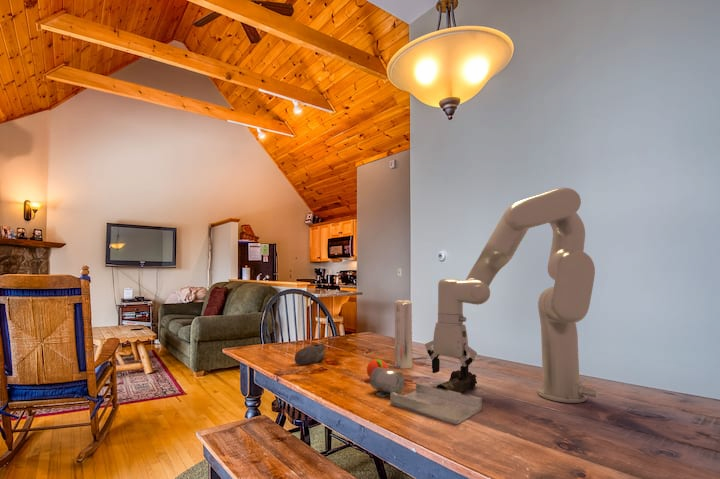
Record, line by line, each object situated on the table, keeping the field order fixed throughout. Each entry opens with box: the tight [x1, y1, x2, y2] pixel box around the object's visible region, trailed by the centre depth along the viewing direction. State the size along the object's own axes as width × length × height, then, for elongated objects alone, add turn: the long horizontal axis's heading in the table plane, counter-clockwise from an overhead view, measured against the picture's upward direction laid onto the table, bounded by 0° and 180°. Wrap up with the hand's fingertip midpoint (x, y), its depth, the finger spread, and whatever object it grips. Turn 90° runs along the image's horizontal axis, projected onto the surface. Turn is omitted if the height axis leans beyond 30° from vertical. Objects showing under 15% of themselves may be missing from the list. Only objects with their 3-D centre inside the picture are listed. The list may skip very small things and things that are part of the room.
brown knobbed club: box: [436, 369, 478, 393], centre depth 115 cm, size 18×7×6 cm, turn 135°
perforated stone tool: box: [294, 343, 326, 366], centre depth 150 cm, size 15×5×7 cm, turn 135°
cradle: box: [389, 382, 483, 425], centre depth 102 cm, size 20×13×3 cm
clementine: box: [366, 358, 388, 378], centre depth 126 cm, size 8×7×7 cm
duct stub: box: [369, 367, 406, 398], centre depth 113 cm, size 8×7×7 cm
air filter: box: [394, 299, 413, 370], centre depth 145 cm, size 6×6×25 cm
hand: (449, 375), depth 116 cm, fingers open, 9 cm apart
